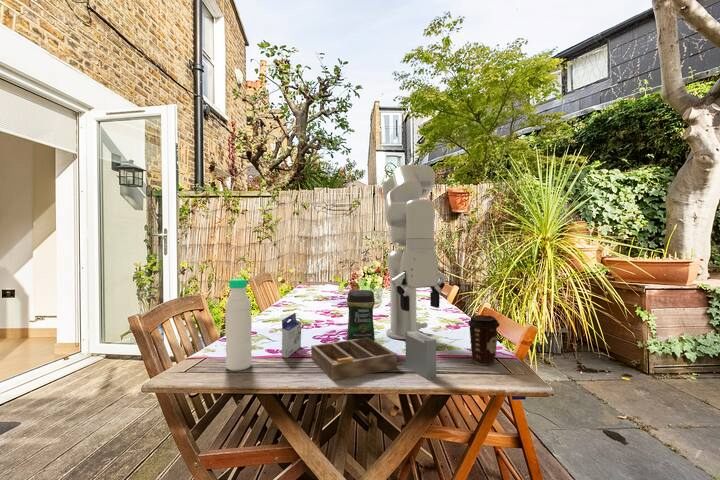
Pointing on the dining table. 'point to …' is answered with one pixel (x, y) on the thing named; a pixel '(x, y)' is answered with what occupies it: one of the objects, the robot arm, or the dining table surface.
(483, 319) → the coffee cup
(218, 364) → the dining table surface
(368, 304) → the coffee jar
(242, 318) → the water bottle
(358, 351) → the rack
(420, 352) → the panel
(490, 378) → the dining table surface
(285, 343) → the ink box
